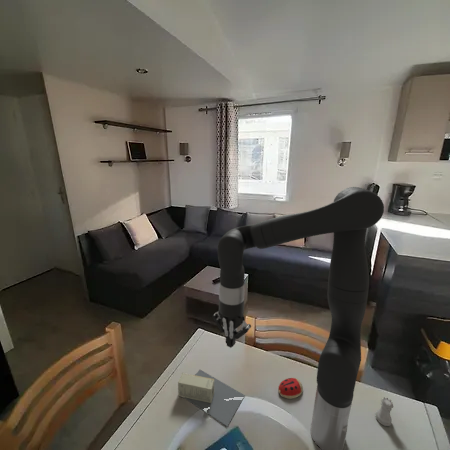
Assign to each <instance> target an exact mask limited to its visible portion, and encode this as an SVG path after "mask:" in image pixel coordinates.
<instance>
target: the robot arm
mask: <svg viewBox="0 0 450 450" xmlns="http://www.w3.org/2000/svg"><path fill="white" fill-rule="evenodd" d="M384 213H385V205H384V202H383V200H382V199H381V197H380V196H379V195H378V194H377V193H375V192H374V191H372V190H369V189H366V188H362V187H357V186H349V187H346V188H344V189H342V190H341V191H340V192H338V193H337V194H336V196H335V197H334V199H333V201H332V202H331V203H329V204H326V205H324V206H320V207H318V208H315V209H311V210H307V211H303V212H296V213H289V214H284V215H280V216H277V217H273V218H270V219H269V218H268V219H266V220H262V221H260V222H257V223H255V224H249V225H243V226H238V227H235V228H231V229H230V230H228V231H226V232H225V233H224V235H223V236H221V238H220V239H219V241H218V244H217V259H218V260H217V261H218V264H219V268H220V270H219V287H218V288H219V289H218V311H216V312H215V313H214V314H213V315H212V316H211V317H212V319H213V321H214V323H215V325H216V326H217V328H218V330H219V331H220V333H222V334H224V335H225V344H226V347H228V348H230V349H231V348H233V347H234V346H235V345H236V343H237V342H236V341H237V340H239V339H241V337H242V336H244V335H246V334H247V333H248V332H249V330H250V329H251V328H252V325H251V324H250V323H248V324H247V321H245V316H244V313H245V295H246V294H245V293H246V291H245V267H244V265H243V263H244V261H243V257H244V251H245V250H247V249H253V248H257V249H259V250H262V249H268V248H272V247H276V246H279V245H282V244H285V243H286V244H287V243H289V242H294V241H297V240H301V239H307V238H311V237H315V236H320V235H327V234H333V241H332V243H333V244H332V248H331V249H332V250H331V255H330V263H329V272H328V278H327V279H328V281H327V303H328V308H329V310H330V314H331V325H330V329H329V336H328V338H327V341H326V342H325V345H324V347H323V349H322V351H321V352H320V355H319V357H318V362H317V363H318V365H317V371H316V389H315V390H316V391H315V396H314V397H315V399H314V404H313V410H312V417H311V423H310V434H311V438H312V440H313V441H315V442H316V443H315V442H314V443H315V445H316V446H317V445H318V446H319V447H320V450H344V448H345V442H346V437H347V434H348V427H349V426H348V424H349V418H350V413H351V410H352V405H353V404H352V402H353V399H354V392H355V387H356V383H357V378H358V373H359V370H360V367H361V366H360V365H361V361H362V347H361V346H362V345H361V344H362V343H361V341H362V339H361V334H362V333H361V331H362V324H363V322H364V321H363V320H364V317H365V314H366V309H367V305H368V304H367V303H368V297H369V288H370V272H369V264H368V257H367V251H366V235H367V230H368V228H371V227H373V226H375V225H376V224H378V222H380V220H381V219H382V217H383V215H384ZM240 326H241V327H240ZM239 327H240V328H241V329H240V330H238V328H239ZM318 446H317V447H318ZM319 447H318V448H319Z"/></svg>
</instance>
